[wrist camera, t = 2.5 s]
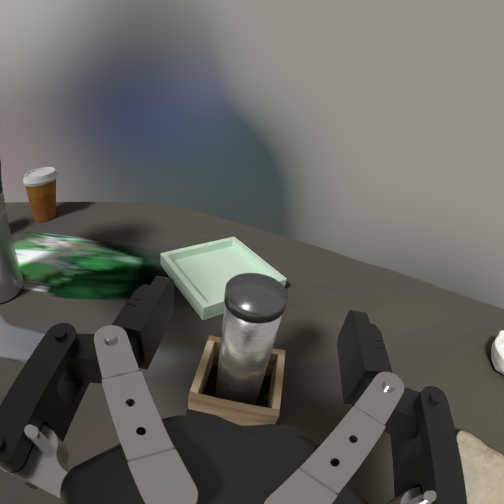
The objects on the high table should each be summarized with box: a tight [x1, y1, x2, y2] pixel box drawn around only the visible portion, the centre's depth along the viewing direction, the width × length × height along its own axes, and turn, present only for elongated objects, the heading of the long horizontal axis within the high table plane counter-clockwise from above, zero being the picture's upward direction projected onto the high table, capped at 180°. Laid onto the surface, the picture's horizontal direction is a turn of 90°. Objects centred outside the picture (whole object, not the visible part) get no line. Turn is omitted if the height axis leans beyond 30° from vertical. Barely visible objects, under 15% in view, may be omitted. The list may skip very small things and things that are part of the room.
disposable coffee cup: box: [23, 167, 57, 222], centre depth 60 cm, size 10×10×12 cm
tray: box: [160, 237, 287, 320], centre depth 52 cm, size 16×16×2 cm
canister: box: [216, 273, 288, 405], centre depth 29 cm, size 5×5×16 cm
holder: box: [188, 335, 286, 426], centre depth 32 cm, size 9×9×4 cm
